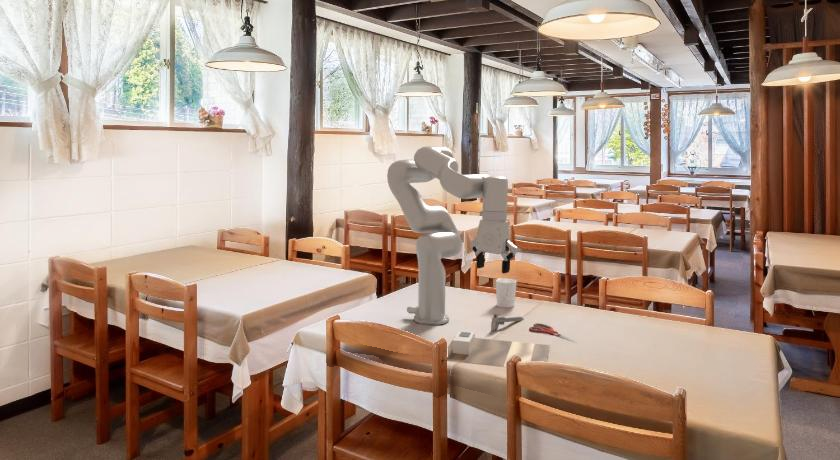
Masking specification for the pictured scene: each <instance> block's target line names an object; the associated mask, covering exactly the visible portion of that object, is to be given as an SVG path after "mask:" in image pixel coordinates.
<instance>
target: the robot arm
mask: <svg viewBox="0 0 840 460" xmlns="http://www.w3.org/2000/svg"><path fill="white" fill-rule="evenodd" d="M458 171H459V163H458V161H457V160H456V159H455V157H454V154H453V153H452V151H451V150H450V149H449V148H447V147H446V146H423V147H420V148H418V149H416V152H414V156H413V159H401V160H399V159H398V160H396V161H394V162H392V163H391V164H390V165H389V167H388V169H387V174H386V178H387V179H386V180H387V183H388V188H389V189H390V192H391V193H392V195H393V197H394V198H395V200H396V201H397V202H398V204H399V206H400V208H401V211H402V213H403V215H404V217H405V220H406V222H407V224H408V226H409V228H410V229H411V231H412V232H413V233H416V234H421V235H420V236H419V237H418V238H417V240H416V242H415V251H416V252H415V253H416V257H417V266H418V268H417V269H418V292H417V293H418V294H417V295H418V301H417V303H418V304H417V306H414V307H413V306H407V308H406V312H407V313H408V314H411V315H412V314H414V316H413V321H414V322H415V323H418V324H419V325H426V326H427V325H428V326H437V325H438V326H439V325H443V324H444V325H445V324H447V323H448V322H450V316H449V315H448V314H446V268H445V266H444V264H443V262H442V260H441V259H446V258H451V257H455V256H457V255H459V254H460V253H461V251H462V249H463V241H462V237H461V235H460V233H459V230H458V228H457V227H456V224H455V223H454V221H453V218H452V217H451V215H450V213H449V211H448V210H447V209H446V208H444V207H443V206H441V205H428V204H426V202H425V201H424V199H423V197H422V195H421V193H420V192H419V191H418V190H417V189H416V188H415V187H414V186H412V185H411V184H415V183H416V184H419V183H428V182H431V181H433V180H435V179H437V180H439V183H440V185H441V188H442V189H443V190H444V191H445V192H446V193H449V194H451V195H452V196H454V197H456V198H458V199H462V200H469V199H482V210H481V211H480V212H479V215H480V216H481V217H482V219H480V220H479V223H478V228H477V232H476V238H474V239H471V240H470V244H471V247H472V250H473V252H474V255H475V256H476V269H482V268H484V267H485V257H486V256H485V254H484V253H487V254H488V253H489V254H494V255H500V256H501V257H502V259H503V260H501V274H508V273H510V270H511V260H513V258H514V257H515V256H516V254H517V252H518V250H519V247H518V246H516V244H514V243H513V242H511V234H510V225H509V221H508V220H507V219H508V193H509V191H508V190H509V180H508V178H506V177H505V176H497V175H493V176H492V175H490V174H483V173H481V174H480V173H479V174H478V173H477V174H476V173H474V174H462V173H460V172H458Z"/></svg>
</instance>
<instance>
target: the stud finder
mask: <svg viewBox="0 0 840 460" xmlns="http://www.w3.org/2000/svg"><path fill="white" fill-rule="evenodd" d="M475 336H476V333H475V332H472V331H462V330H459V331H457V333H456V335H455V336H454V337H455V338H454V337H453V339H452V340H453V353H457V354H467V355H469V354H470V352H471V350H472V349H473V347H474V344H475V338H476V337H475Z"/></svg>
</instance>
